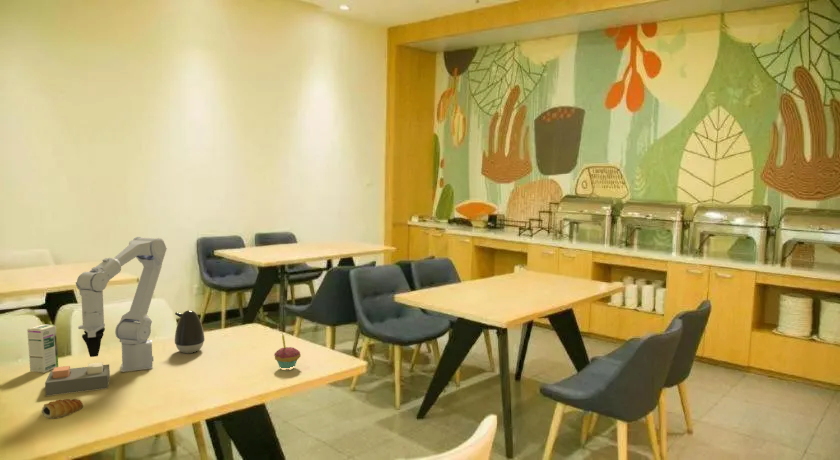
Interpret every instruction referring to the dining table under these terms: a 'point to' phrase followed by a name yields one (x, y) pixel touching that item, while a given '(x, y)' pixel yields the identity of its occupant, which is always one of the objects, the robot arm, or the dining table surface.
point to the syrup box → (42, 348)
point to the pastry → (61, 408)
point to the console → (77, 381)
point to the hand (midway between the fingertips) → (94, 354)
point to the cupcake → (287, 356)
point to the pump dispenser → (189, 332)
